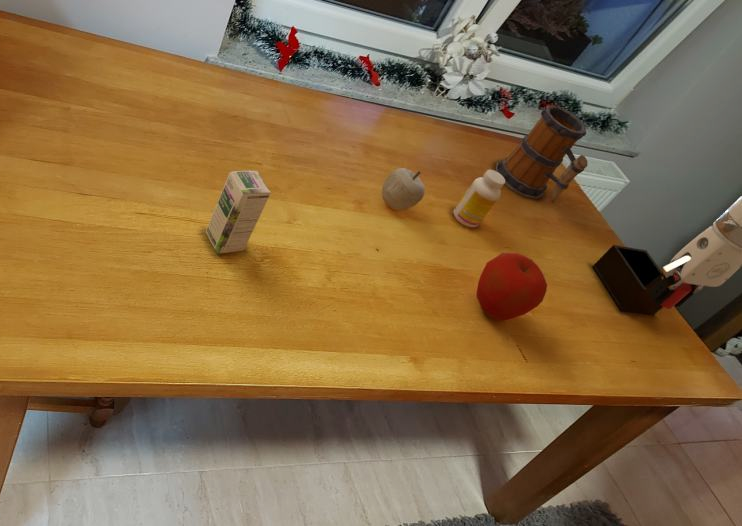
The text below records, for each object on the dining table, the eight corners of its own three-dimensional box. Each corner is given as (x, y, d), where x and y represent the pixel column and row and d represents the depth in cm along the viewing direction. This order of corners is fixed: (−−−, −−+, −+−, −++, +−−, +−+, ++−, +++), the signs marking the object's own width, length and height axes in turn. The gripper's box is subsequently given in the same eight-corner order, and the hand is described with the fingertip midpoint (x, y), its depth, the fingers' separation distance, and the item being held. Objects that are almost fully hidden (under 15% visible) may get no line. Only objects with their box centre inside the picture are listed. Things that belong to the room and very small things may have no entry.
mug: (565, 211, 177) (617, 151, 164) (529, 213, 169) (580, 151, 156) (520, 161, 187) (566, 102, 174) (484, 161, 180) (529, 99, 167)
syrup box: (203, 231, 122) (227, 170, 113) (232, 228, 126) (258, 169, 116) (216, 254, 119) (242, 194, 110) (245, 251, 123) (272, 192, 113)
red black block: (673, 301, 128) (692, 284, 125) (671, 312, 125) (691, 294, 122) (654, 288, 129) (673, 271, 126) (651, 299, 126) (670, 281, 123)
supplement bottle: (481, 231, 156) (513, 189, 147) (456, 225, 154) (488, 183, 145) (473, 211, 160) (504, 170, 152) (449, 205, 158) (478, 163, 150)
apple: (451, 299, 135) (491, 251, 125) (479, 279, 143) (518, 232, 134) (500, 344, 131) (544, 297, 121) (525, 320, 139) (569, 274, 130)
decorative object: (368, 200, 148) (389, 165, 141) (386, 186, 154) (406, 152, 148) (401, 225, 146) (424, 190, 139) (417, 209, 152) (439, 176, 146)
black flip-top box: (591, 266, 163) (613, 244, 158) (623, 271, 167) (646, 250, 162) (620, 311, 154) (644, 289, 149) (653, 315, 158) (678, 294, 153)
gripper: (718, 240, 109) (640, 312, 122) (786, 252, 116) (706, 319, 128) (691, 209, 114) (619, 280, 126) (758, 221, 121) (683, 288, 133)
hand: (663, 299), depth 127 cm, fingers closed on red black block, 4 cm apart
